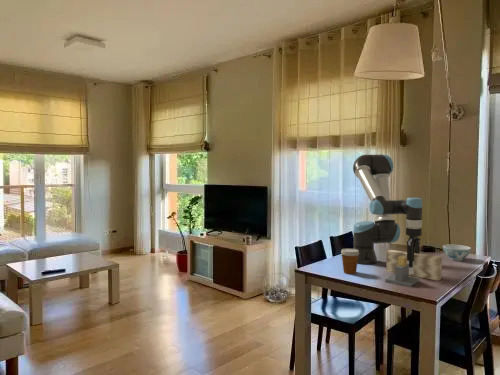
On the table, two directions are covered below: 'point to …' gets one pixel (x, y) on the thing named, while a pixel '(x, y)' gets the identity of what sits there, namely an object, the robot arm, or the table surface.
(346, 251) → the disposable coffee cup
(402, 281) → the stand
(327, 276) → the table surface
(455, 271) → the table surface
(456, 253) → the chinaware
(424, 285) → the table surface
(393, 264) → the birch beam
